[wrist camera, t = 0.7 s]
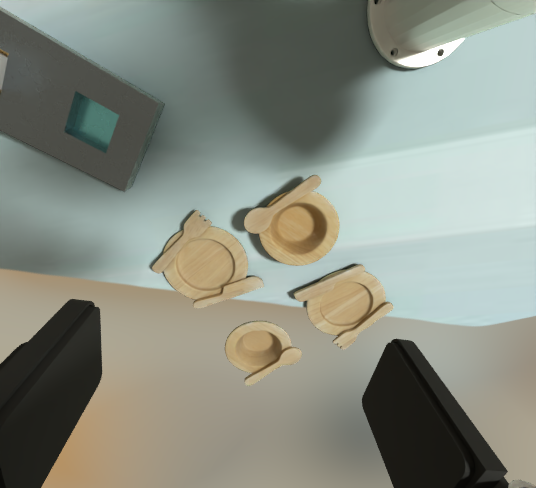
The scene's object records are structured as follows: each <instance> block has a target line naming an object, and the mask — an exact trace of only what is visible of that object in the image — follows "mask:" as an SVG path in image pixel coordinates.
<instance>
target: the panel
mask: <svg viewBox="0 0 536 488" xmlns="http://www.w3.org/2000/svg"><path fill="white" fill-rule="evenodd" d="M0 52H2V53H3V54H5V55H7V56H8V59H7V64H6V69H5V74H4V80H3V85H2V90H0V131H3V132H5V133H7V134H9V135H11V136H13V137H15V138H17V139H19V140H21V141H23V142H25V143H27V144H29V145H31V146H33V147H35V148H37V149H39V150H41V151H43V152H45V153H47V154H49V155H51V156H53V157H55V158H57V159H59V160H61V161H63V162H65V163H67V164H69V165H71V166H73V167H75V168H77V169H79V170H81V171H84V172H86V173H88V174H90V175H92V176H94V177H96V178H98V179H100V180H102V181H104V182H106V183H108V184H110V185H112V186H114V187H116V188H118V189H120V190H122V191H124V192H125V191H126V190H128V189H129V188H131V187H132V185H133V183H134V180H135V178H136V175H137V173H138V170H139V168H140V165H141V163H142V160H143V158H144V155H145V153H146V150H147V147H148V145H149V142H150V140H151V137H152V135H153V132H154V130H155V127H156V125H157V122H158V120H159V117H160V115H161V112H162V110H163V107H164V105H165V104H164V103H163V102H161V101H159V100H158V99H156V98H154V97H153V96H151V95H149V94H147V93H146V92H144V91H142V90H141V89H139V88H137V87H136V86H134V85H132V84H130V83H129V82H127V81H125V80H124V79H122V78H120V77H119V76H117V75H115V74H114V73H112V72H110V71H108V70H107V69H105V68H103V67H102V66H100V65H98V64H97V63H95V62H93V61H91V60H90V59H88V58H86V57H85V56H83V55H81V54H80V53H78V52H76V51H75V50H73V49H71V48H69V47H68V46H66V45H64V44H63V43H61V42H59V41H58V40H56V39H54V38H52V37H51V36H49V35H47V34H46V33H44V32H42V31H41V30H39V29H37V28H36V27H34V26H32V25H30V24H29V23H27V22H25V21H24V20H22V19H20V18H19V17H17V16H15V15H13V14H12V13H10V12H8V11H7V10H5V9H3V8H2V7H0Z"/></svg>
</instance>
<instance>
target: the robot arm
mask: <svg viewBox="0 0 536 488" xmlns="http://www.w3.org/2000/svg"><path fill="white" fill-rule="evenodd" d="M376 1H377V4H376V5H375V3H374V0H368V7H367V19H368V27H369V32H370V36H371V38H372V41H373V43H374V45H375V47H376V48H377V50H378V51H379V53H380V54H381V55H382V56H383V57H384V58H385V59H386V60H387V61H388V62H390V63H392V64H394V65H396V66H399V67H403V68H414V69H416V68H421V67H426V66H429V65H432V64H435V63H437V62H439V61H441V60H442V59H444V58H445V57H447V56H448V55H449V54H451V53H452V52H453V51H454V50H455V49H456V48H457V47H458V46H459V45H460V44H461V43H462V42H463V40H464V39H465V38H466V37H469V36H472V35H475V34H478V33H481V32H484V31H487V30H489V29H492V28H495V27H498V26H501V25H504V24H507V23H510V22H513V21H515V20H518V19H521V18H524V17H527V16H530V15H533V14H536V0H376ZM391 51H392V52H393V55H391ZM437 52H438V55H437ZM101 376H102V356H101V325H100V309H99V307H95V305H94V303H93V302H92V301H84V300H76V299H71V300H69V301H68V302H67V303H66V304H65V305H64V306H63V307H62V308H61V309H60V310H59V311H58V312H57V313H56V314H55V315H54V316H53V317H52V318H51V319H50V320H49V321H48V322H47V323H46V324H45V325H44V326H43V327H42V328H41V329H40V330H39V331H38V332H37V333H36V335H34V336H33V338H31V339H30V340H29V341H28V342H26V343H23V344H21V345H20V346H19V347H17V348H16V349H15V350H14V351H13V352H12V353H11V354H10V355H9V356H8V357H7V358H6V359H5V360H4V361H3V362H2V363H1V364H0V488H41V487H42V485H43V483H44V481H45V479H46V478H47V476H48V474H49V472H50V470H51V468H52V467H53V465H54V463H55V461H56V460H57V458H58V456H59V454H60V453H61V451H62V449H63V447H64V446H65V444H66V442H67V440H68V438H69V437H70V435H71V433H72V431H73V429H74V428H75V426H76V424H77V422H78V420H79V419H80V417H81V415H82V413H83V412H84V410H85V408H86V406H87V404H88V403H89V401H90V399H91V397H92V396H93V394H94V392H95V390H96V388H97V387H98V385H99V383H100V380H101ZM362 406H363V409H364V412H365V414H366V417H367V420H368V422H369V425H370V427H371V430H372V433H373V435H374V438H375V440H376V443H377V445H378V448H379V450H380V453H381V456H382V458H383V461H384V463H385V466H386V469H387V471H388V474H389V476H390V479H391V481H392V484H393V487H394V488H536V486H535V485H533V484H531V483H529V482H525V481H522V480H513V481H512V482H511V483H508V482H507V481H506V479H505V478H504V475H505V474H506V473H507V472H508V471H507V470H506V468H505V467H504V466H503V464H502V463H501V461H500V460H499V459H498V458H497V456H496V455H495V453H494V452H493V450H492V449H491V448H490V446H489V445H488V444H487V442H486V441H485V440H484V438H483V437H482V435H481V434H480V433H479V431H478V430H477V428H476V427H475V426H474V424H473V423H472V422H471V420H470V419H469V417H468V416H467V415H466V413H465V412H464V411H463V409H462V408H461V406H460V405H459V404H458V402H457V401H456V400H455V398H454V397H453V396H452V394H451V393H450V391H449V390H448V389H447V387H446V386H445V384H444V383H443V382H442V381H441V379H440V378H439V376H438V375H437V373H436V372H435V371H434V369H433V368H432V367H431V365H430V364H429V362H428V361H427V360H426V358H425V357H424V356H423V354H422V353H421V351H420V350H419V349H418V347H417V346H416V345H415V343H414V342H412V341H409V340H401V339H394V340H392V341H391V343H388V344H387V345H386V347H385V349H384V352H383V354H382V356H381V358H380V360H379V362H378V365H377V367H376V369H375V371H374V373H373V375H372V378H371V380H370V382H369V384H368V386H367V388H366V391H365V393H364V395H363V398H362Z"/></svg>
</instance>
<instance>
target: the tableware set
mask: <svg viewBox="0 0 536 488" xmlns="http://www.w3.org/2000/svg"><path fill="white" fill-rule="evenodd" d="M320 184H321V179H320V177H319V176H318V175H312V176H310V177H308V178H307V179H306V180H304V181H303V182H302V183H300V184H299V185H298V186H297V187H295V188H294V189H293V190H291V191H288V192H285V193H283V194H281V195H279V196H277V197H276V198H274V199H273V200H272V201H271V202H270V203H269V204H268V205H267V206H266V207H264V208H262V207H258V208H254V209H252V210H251V211H249V212H248V213H247V215H246V216H245V219H244V227H245V229H246V230H247V231H248V232H250V233H253V234H257V233H259V237H260V241H261V243H262V246H263V247H264V249H265V250H266V252H267V253H268V254H269V255H270V256H271V257H273V258H274V259H275V260H277V261H279V262H281V263H284V264H288V265H296V266H299V265H306V264H310V263H313V262H315V261H317V260H319V259H320V258H322V257H323V256H325V255H326V254H327V253H328V252H329V251H330V250H331V248H332V247H333V245H334V244H335V242H336V240H337V237H338V233H339V218H338V215H337V212H336V210H335V208H334V207H333V205H332V204H331V203H330V202H329V201H328V200H327V199H326V198H325V197H324V196H322V195H320V194H318V193H316V192H314V191H313V190H314V189H316V188H317V187H318V186H319V185H320ZM199 215H200V212H199V211H198V210H196V211H195V212H194V213H193V214H192V215H191V216H190V217H189V219H188V220H187V221H186V222H185V224H184V229H183V230H182V231H180V232H178V233H177V234H176V235H174V236H173V237H172V238H171V239H170V240H169V242H168V243H167V245H166V247H165V249H164V251H163V255H162V256H161V257H160V258H159V259H158V260H157V261H156V263H155V264H154V265H153V267H152V269H153V271H154V272H156V273H162V272H164V275H165V277H166V279H167V280H168V282H169V283H170V284H171V285H172V287H173V288H174V289H175V290H177V291H178V292H180V293H181V294H183V295H184V296H186V297H189V298H191V299H195V301H194V303H193V306H194V307H195V308H196V309H199V308H203V307H206V306H209V305H212V304H215V303H218V302H221V301H224V300H227V299H230V298H233V297H236V296H239V295H242V294H244V293H247V292H250V291H253V290H256V289H259V288H262V287H264V284H263V281H262V279H261V278H259V277H256V276H253V277H248V278H246V275H247V271H248V260H247V256H246V253H245V250H244V248H243V247H242V245H241V244H240V242H239V241H238V240H237V239H236V238H235V237H234V236H233V235H231V234H230V233H228V232H227V231H225V230H223V229H220V228H217V227H214V226H210V225H211V224H212V222H211V221H210V220H206V221H204V220H205V218H206V217H205V216H204V215H202V216H201V217H200V216H199ZM294 297H295V298H296V300H298V301H300V302H302V301H307V314H308V317H309V319H310V321H311V322H312V324H313V325H314V326H315V327H316V328H317V329H319V330H320V331H322V332H324V333H327V334H331V335H337V336H338V337H336V338H335V339H334V340H333V343H334V344H337V346H338V347H340V348H341V349H342V350H345V349H346V348H347V347H348V346H350V345H351V344H352V343H353V342H355V340H356V337H357V335H358V334H359V333H360V332H361V331H362V330H364V329H366V328H368V327H369V326H371V325H372V324H373V323H374V322H375V321H377V320H378V319H380V318H381V317H383V316H384V315H386V314H387V313H389V312H390V311H392V309H393V305H392V304H391V303H390V302H385V299H386V297H385V291H384V288H383V286H382V284H381V283H380V282H379V281H378V280H377V279H376V278H375V277H374V276H373V275H371V274H369V273H367V272H365V268H364V266H363V265H360V264H359V265H355V266H353V267H351V268H349V269H346V270H340V271H337V272H334V273H331V274H329V275H327V276H326V277H324V278H322V279H321V280H320V281H319V282H317V283H315V284H312V285H310V286H307V287H305V288H303V289H300V290H298V291H296V292H294ZM225 352H226V356H227V358H228V360H229V361H230V362H231V363H232V364H233V365H234V366H235V367H237V368H238V369H240V370H242V371H245V372H249V373H252V374H250V375H249V376H247V377H246V378H245V384H246V385H247V386H250V385H253V384H254V383H256V382H257V381H259V380H260V379H262V378H263V377H265V376H266V375H268V374H269V373H270V372H272V371H273V370H274V369H277V368H279V367H280V366H281V365H292V364H294V363H296V362H298V361H299V360H300V358H301V356H302V353H301V350H300V349H299V348H296V347H292V345H291V340H290V337H289V336H288V334H287V333H286V331H285V330H283V329H282V328H281V327H279V326H278V325H275V324H273V323H270V322H267V321H252V322H248V323H244V324H242V325H240V326H238V327H237V328H235V329H234V330H233V331H232V332H231V333H230V335H229V336H228V338H227V340H226V344H225Z"/></svg>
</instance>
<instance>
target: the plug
mask: <svg viewBox="0 0 536 488" xmlns="http://www.w3.org/2000/svg"><path fill="white" fill-rule="evenodd" d="M7 59H8V56H7V55H5V54H3V53H2V52H0V90H2V85H3V80H4V74H5V69H6V64H7Z"/></svg>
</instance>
